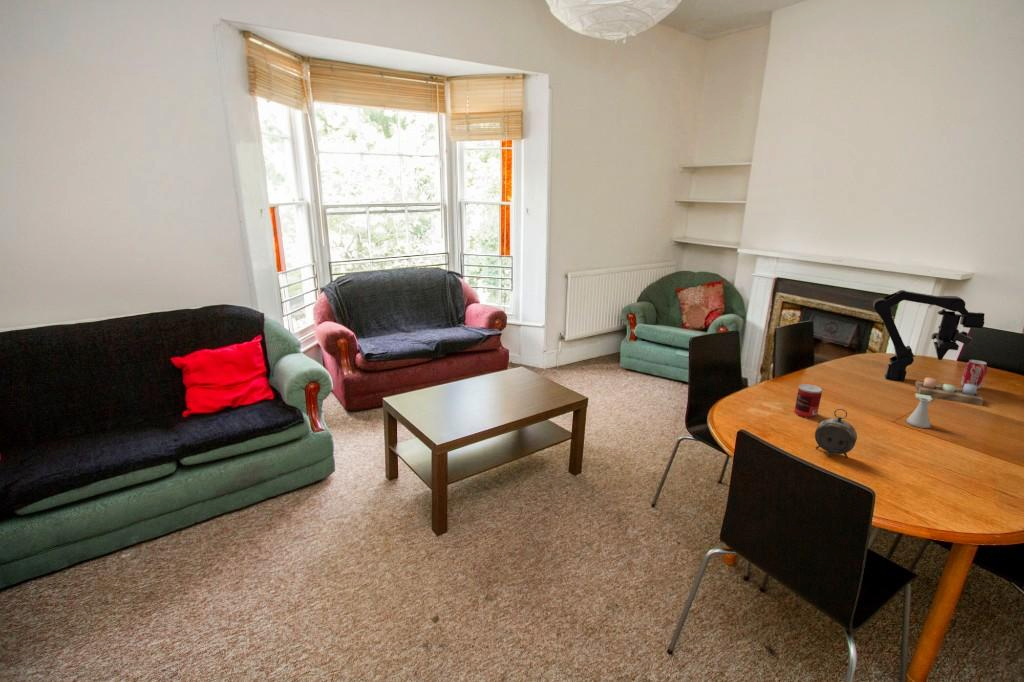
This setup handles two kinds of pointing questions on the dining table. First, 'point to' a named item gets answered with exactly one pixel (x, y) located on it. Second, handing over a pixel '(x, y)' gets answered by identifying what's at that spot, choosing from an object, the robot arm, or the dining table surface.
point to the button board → (949, 394)
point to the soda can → (974, 373)
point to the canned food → (808, 400)
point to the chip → (923, 396)
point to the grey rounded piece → (969, 389)
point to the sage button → (948, 387)
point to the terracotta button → (929, 383)
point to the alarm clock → (835, 436)
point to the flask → (920, 415)
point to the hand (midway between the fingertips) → (939, 359)
